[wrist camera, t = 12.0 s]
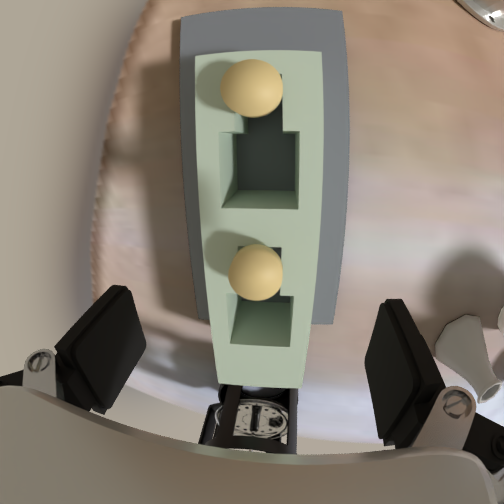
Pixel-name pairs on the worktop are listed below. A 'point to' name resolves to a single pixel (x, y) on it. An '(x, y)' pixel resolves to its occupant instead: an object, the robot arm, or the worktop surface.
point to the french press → (252, 421)
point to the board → (269, 139)
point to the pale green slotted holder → (260, 221)
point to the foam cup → (501, 321)
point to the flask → (468, 355)
